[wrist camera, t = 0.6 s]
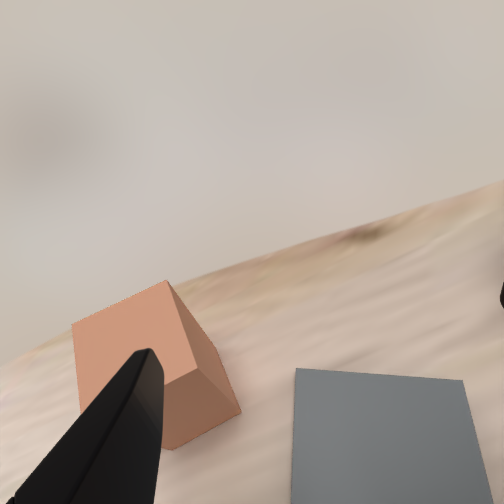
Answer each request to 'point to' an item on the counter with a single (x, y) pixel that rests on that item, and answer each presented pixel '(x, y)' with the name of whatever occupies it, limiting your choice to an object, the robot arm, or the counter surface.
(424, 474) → the slate board
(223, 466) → the counter surface
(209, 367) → the terracotta block
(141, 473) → the robot arm
